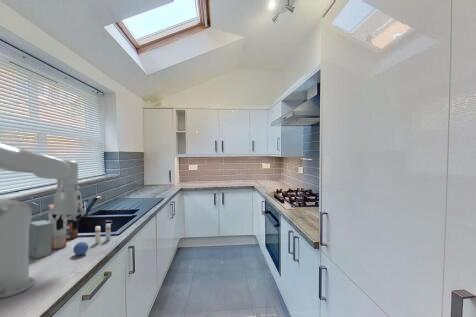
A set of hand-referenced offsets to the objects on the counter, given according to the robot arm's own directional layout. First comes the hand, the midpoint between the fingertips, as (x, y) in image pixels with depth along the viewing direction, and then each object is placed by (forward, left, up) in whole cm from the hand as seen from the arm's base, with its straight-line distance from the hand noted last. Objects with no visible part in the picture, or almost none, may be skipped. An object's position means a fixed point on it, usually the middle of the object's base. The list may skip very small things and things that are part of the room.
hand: (67, 228), depth 106 cm
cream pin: (+25, 0, -16) cm, 29 cm away
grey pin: (+29, -4, -16) cm, 33 cm away
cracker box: (+23, +20, -16) cm, 34 cm away
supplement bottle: (+33, +19, -16) cm, 41 cm away
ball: (+10, 0, -13) cm, 16 cm away
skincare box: (+10, +19, -16) cm, 26 cm away
